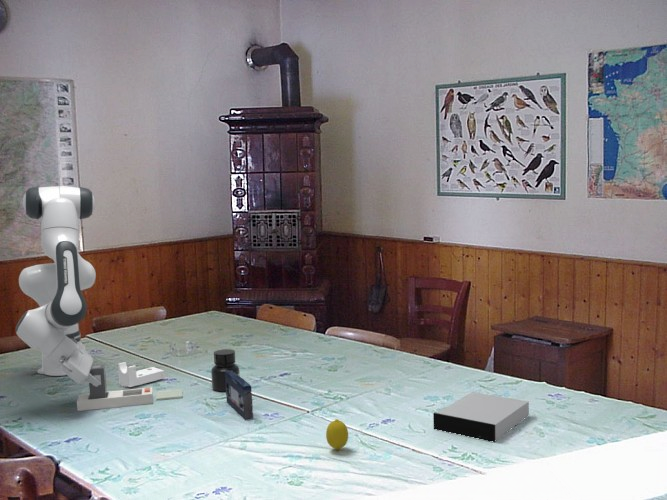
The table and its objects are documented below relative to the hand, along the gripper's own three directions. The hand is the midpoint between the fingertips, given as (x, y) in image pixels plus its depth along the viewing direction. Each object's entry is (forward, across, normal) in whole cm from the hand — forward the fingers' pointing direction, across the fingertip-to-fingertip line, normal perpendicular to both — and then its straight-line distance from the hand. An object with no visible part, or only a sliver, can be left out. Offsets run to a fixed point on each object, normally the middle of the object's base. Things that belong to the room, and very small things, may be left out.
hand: (99, 381), depth 232 cm
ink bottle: (+32, +5, -22) cm, 39 cm away
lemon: (+49, -56, -38) cm, 83 cm away
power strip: (+8, 0, +2) cm, 9 cm away
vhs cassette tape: (+34, -18, -23) cm, 45 cm away
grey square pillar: (+3, 0, +4) cm, 5 cm away
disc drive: (+79, -49, -67) cm, 115 cm away
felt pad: (+20, +3, -9) cm, 22 cm away
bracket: (+14, +20, -3) cm, 25 cm away
